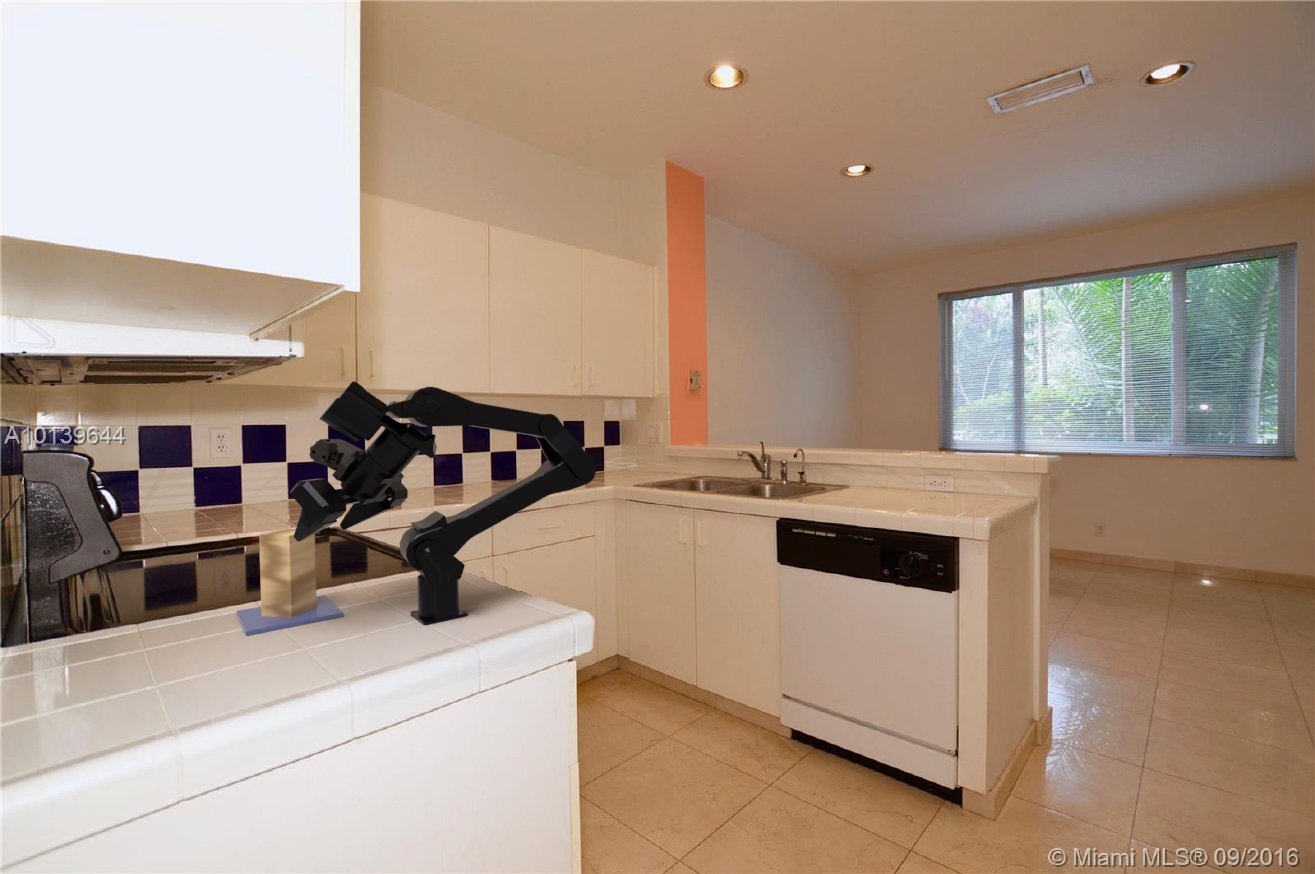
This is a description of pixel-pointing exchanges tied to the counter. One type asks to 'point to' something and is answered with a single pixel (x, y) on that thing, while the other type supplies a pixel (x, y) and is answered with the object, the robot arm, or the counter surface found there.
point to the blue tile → (259, 624)
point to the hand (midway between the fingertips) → (320, 533)
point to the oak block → (287, 574)
